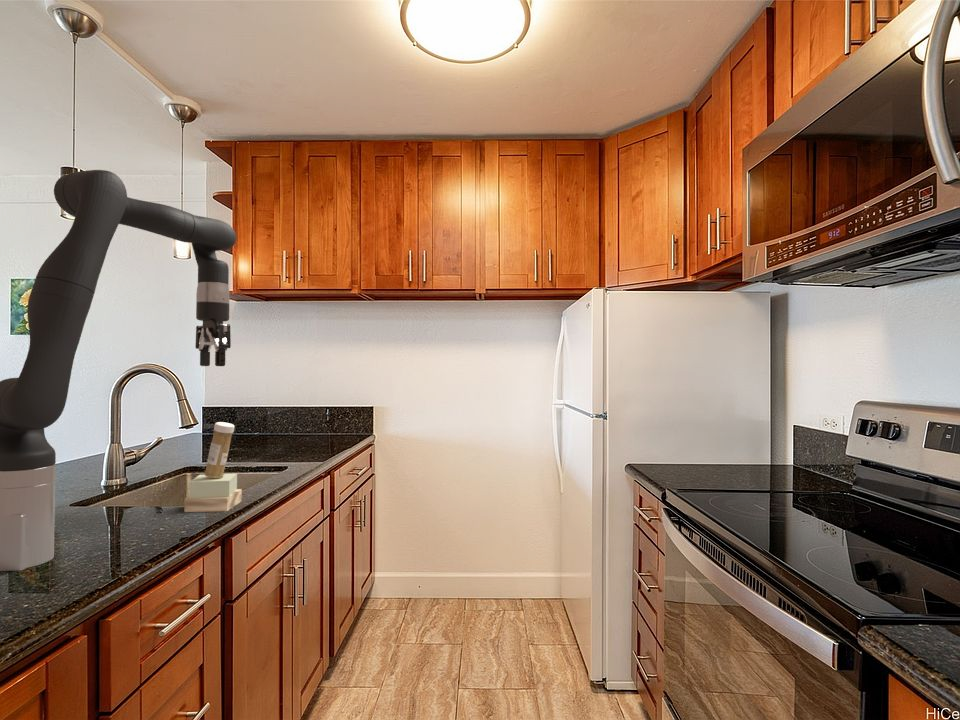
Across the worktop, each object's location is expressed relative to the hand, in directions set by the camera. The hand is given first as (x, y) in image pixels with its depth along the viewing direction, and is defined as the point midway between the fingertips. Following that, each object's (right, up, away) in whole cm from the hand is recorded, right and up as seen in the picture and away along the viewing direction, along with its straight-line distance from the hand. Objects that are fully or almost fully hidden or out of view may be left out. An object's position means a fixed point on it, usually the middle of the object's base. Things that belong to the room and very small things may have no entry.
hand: (212, 366), depth 140 cm
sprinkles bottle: (+1, -28, -1) cm, 28 cm away
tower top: (+1, -32, 0) cm, 32 cm away
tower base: (+1, -36, -1) cm, 36 cm away
